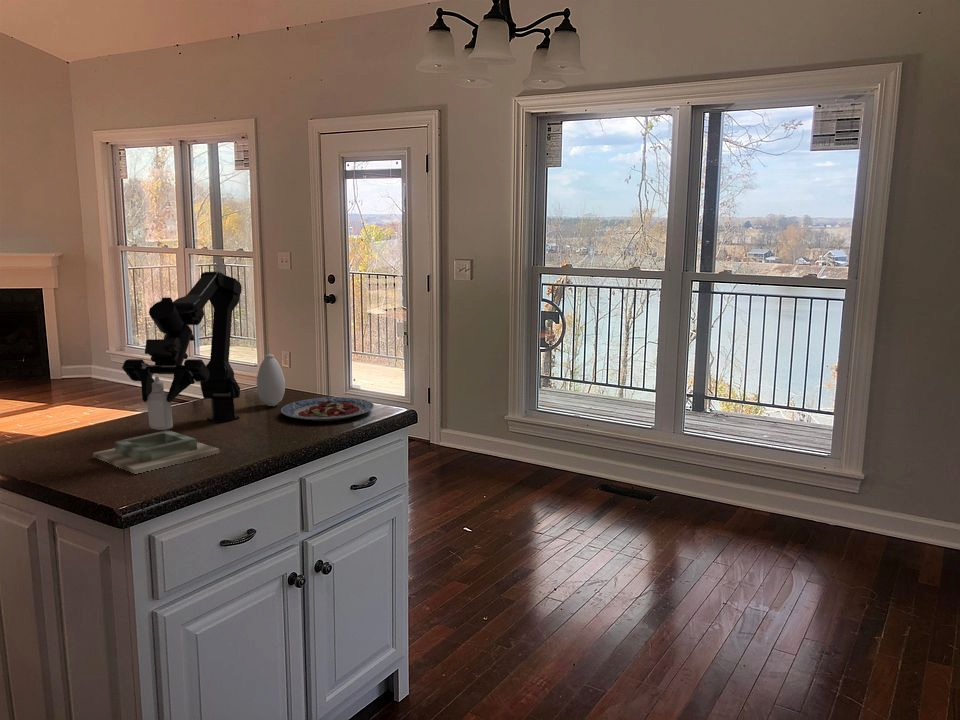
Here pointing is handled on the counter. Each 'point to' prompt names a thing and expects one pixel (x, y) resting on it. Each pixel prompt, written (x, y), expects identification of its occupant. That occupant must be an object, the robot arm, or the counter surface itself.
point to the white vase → (270, 381)
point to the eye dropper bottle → (159, 407)
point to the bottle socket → (155, 451)
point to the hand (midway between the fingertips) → (156, 401)
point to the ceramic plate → (327, 408)
